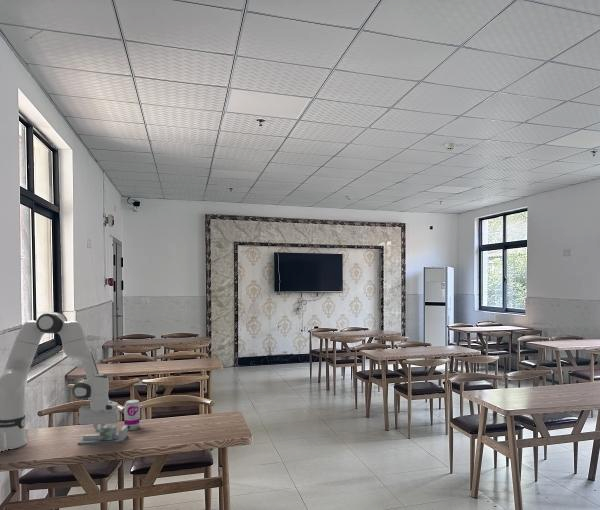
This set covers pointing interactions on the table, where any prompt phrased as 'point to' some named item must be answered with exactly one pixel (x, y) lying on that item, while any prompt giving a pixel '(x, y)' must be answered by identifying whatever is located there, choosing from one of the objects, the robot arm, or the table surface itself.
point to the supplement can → (132, 414)
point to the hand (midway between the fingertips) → (98, 432)
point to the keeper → (107, 432)
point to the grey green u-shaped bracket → (96, 440)
